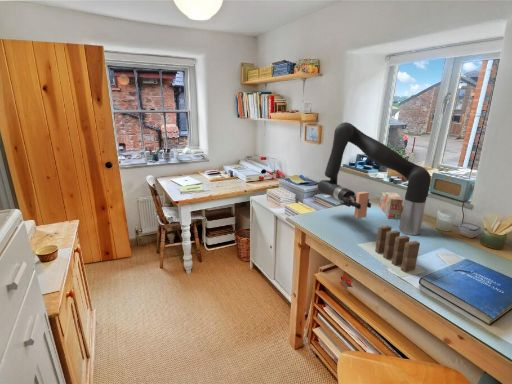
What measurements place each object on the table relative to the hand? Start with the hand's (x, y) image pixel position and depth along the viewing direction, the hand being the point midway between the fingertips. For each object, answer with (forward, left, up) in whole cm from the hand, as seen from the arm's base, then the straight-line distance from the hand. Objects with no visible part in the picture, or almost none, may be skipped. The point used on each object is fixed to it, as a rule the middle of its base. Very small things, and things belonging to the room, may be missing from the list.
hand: (365, 206), depth 129 cm
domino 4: (+24, +9, -18) cm, 31 cm away
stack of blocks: (-37, +32, -19) cm, 53 cm away
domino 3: (+19, +8, -18) cm, 28 cm away
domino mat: (+14, +7, -18) cm, 24 cm away
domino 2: (+14, +7, -18) cm, 24 cm away
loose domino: (-3, -1, -6) cm, 7 cm away
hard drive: (+19, +31, -19) cm, 42 cm away
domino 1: (+10, +5, -18) cm, 21 cm away
